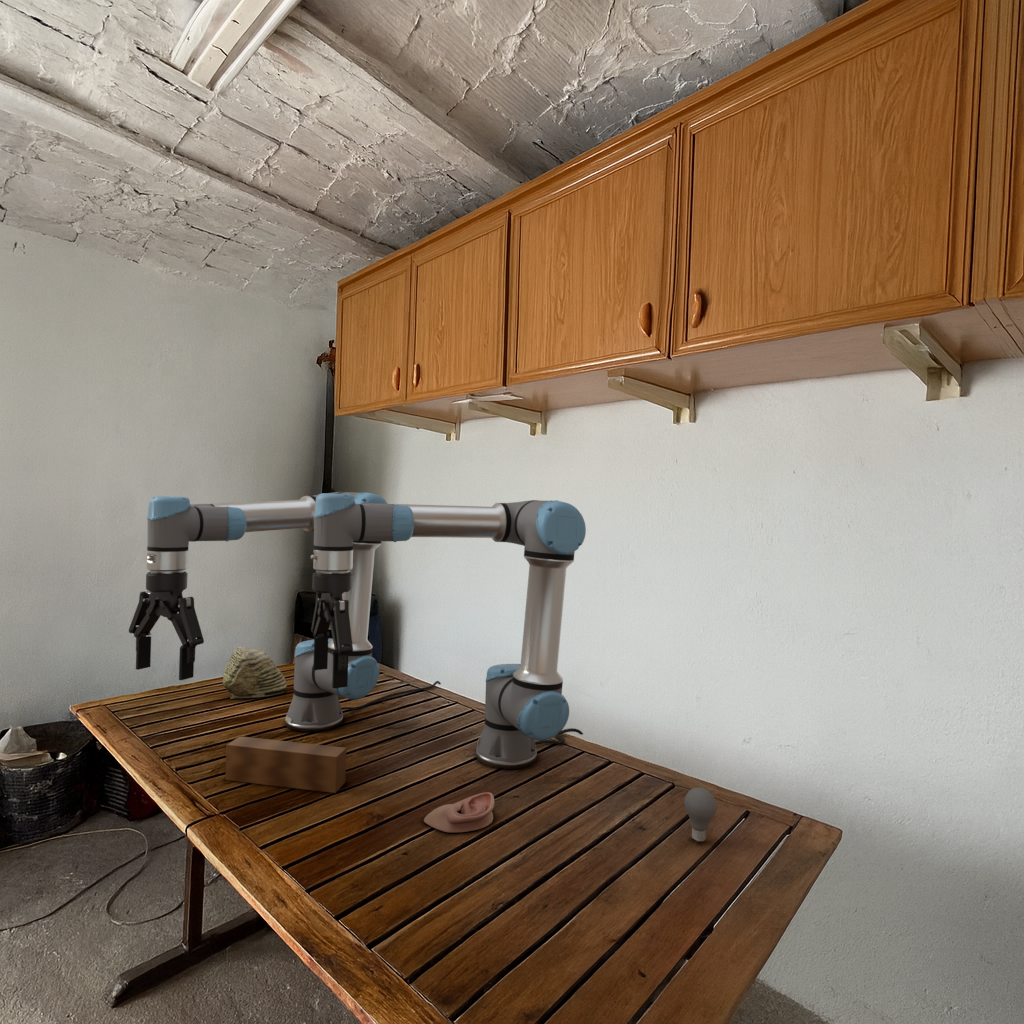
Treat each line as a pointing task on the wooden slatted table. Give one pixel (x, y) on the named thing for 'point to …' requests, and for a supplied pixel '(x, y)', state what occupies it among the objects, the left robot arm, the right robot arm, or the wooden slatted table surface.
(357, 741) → the wooden slatted table surface
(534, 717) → the right robot arm
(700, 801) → the light bulb
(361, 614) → the left robot arm
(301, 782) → the bar
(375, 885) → the wooden slatted table surface
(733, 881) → the wooden slatted table surface
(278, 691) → the fossil
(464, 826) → the anatomical model
